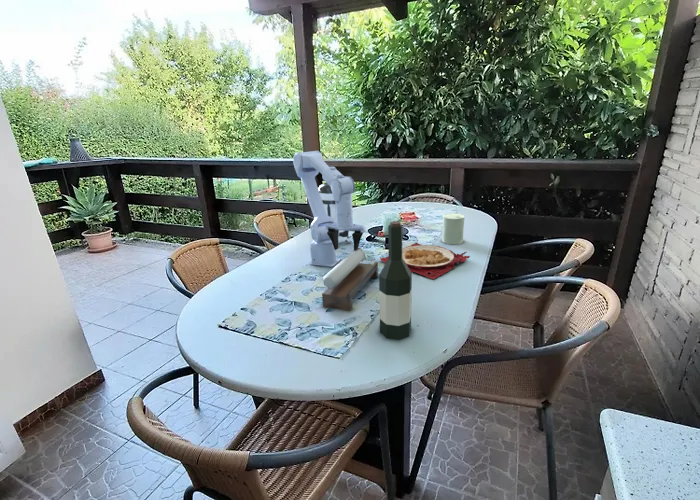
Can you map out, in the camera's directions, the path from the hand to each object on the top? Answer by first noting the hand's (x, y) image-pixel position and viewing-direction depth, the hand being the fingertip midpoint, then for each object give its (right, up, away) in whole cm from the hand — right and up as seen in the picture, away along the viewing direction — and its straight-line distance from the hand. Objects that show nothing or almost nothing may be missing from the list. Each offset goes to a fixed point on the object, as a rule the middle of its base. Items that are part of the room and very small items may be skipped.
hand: (346, 249), depth 131 cm
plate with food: (+30, -5, +12) cm, 33 cm away
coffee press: (-4, +3, +37) cm, 37 cm away
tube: (+1, -8, -11) cm, 14 cm away
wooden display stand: (+2, -13, -10) cm, 17 cm away
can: (+47, +4, +32) cm, 57 cm away
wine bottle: (+14, -22, -34) cm, 42 cm away
